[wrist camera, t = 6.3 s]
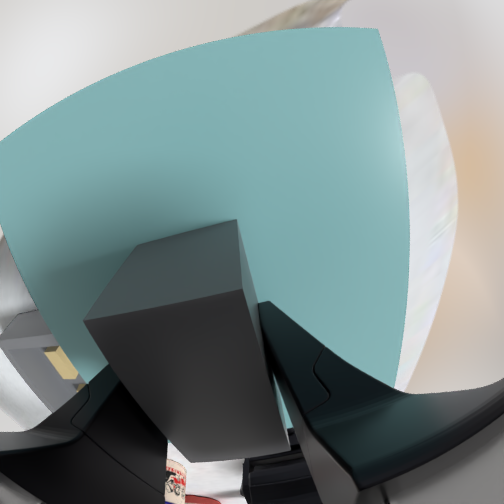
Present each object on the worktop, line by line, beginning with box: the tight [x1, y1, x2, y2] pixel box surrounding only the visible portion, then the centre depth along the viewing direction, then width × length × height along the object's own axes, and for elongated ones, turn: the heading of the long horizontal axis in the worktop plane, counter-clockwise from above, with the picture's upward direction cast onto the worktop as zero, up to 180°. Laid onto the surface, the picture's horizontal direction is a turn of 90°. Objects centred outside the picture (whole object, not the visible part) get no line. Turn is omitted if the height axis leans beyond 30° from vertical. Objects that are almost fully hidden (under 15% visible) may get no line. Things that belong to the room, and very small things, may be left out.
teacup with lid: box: [164, 459, 186, 504], centre depth 30 cm, size 12×9×12 cm
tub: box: [0, 310, 87, 413], centre depth 23 cm, size 16×14×5 cm
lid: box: [0, 27, 410, 463], centre depth 9 cm, size 17×15×6 cm
